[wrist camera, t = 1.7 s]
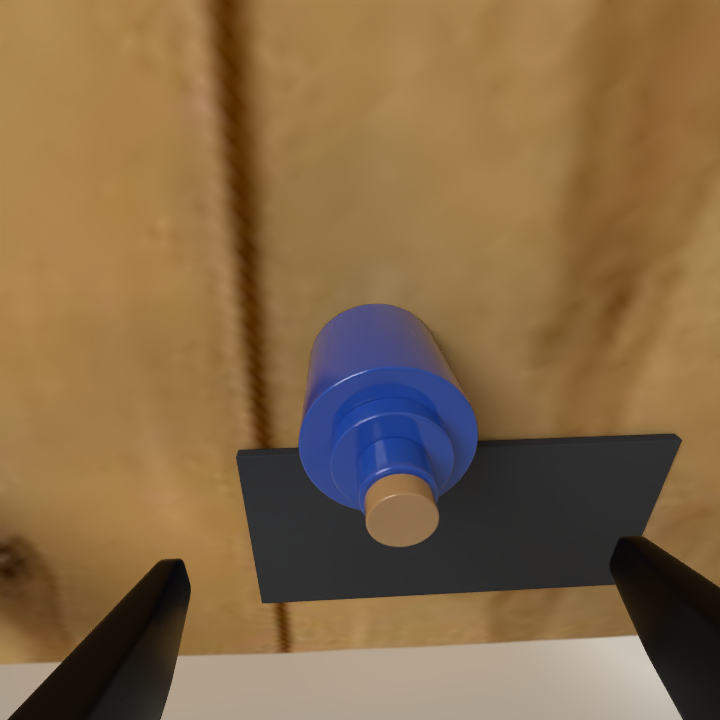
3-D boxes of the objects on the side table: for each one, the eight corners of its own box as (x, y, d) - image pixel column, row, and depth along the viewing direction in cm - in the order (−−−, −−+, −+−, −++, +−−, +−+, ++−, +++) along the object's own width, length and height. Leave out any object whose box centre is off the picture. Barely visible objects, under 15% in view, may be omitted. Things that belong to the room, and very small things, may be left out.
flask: (313, 420, 17) (296, 601, 10) (305, 304, 15) (277, 432, 8) (433, 416, 18) (499, 590, 10) (442, 301, 15) (535, 423, 8)
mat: (263, 595, 22) (262, 603, 22) (238, 449, 18) (235, 456, 17) (616, 576, 23) (621, 584, 23) (674, 433, 19) (682, 439, 18)
